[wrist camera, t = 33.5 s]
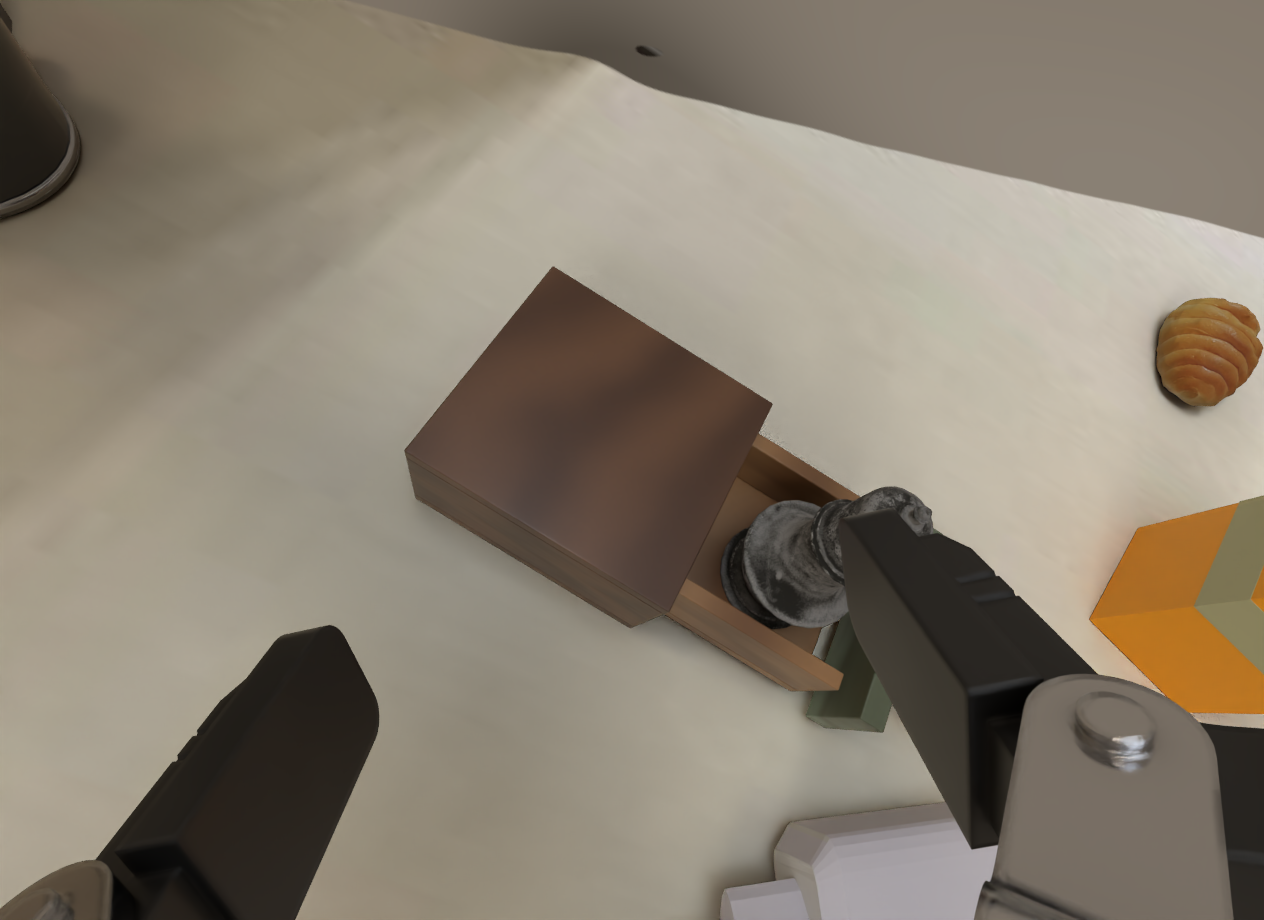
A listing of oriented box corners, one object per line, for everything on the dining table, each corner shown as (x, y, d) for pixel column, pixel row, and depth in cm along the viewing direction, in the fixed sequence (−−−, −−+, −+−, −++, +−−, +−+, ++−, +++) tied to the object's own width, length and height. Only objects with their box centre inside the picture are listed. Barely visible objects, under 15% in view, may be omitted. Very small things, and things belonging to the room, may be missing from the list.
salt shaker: (816, 524, 33) (988, 439, 22) (826, 638, 31) (1022, 605, 20) (712, 514, 32) (842, 419, 21) (716, 632, 30) (862, 594, 19)
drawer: (956, 598, 35) (1024, 584, 31) (906, 778, 31) (978, 791, 26) (713, 447, 34) (749, 412, 30) (628, 608, 30) (655, 593, 26)
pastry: (1207, 432, 46) (1267, 411, 43) (1135, 376, 47) (1188, 351, 43) (1229, 355, 50) (1285, 330, 47) (1162, 304, 51) (1212, 275, 47)
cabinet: (722, 451, 36) (773, 403, 30) (630, 628, 31) (669, 612, 25) (538, 336, 35) (552, 265, 29) (414, 498, 30) (403, 450, 24)
